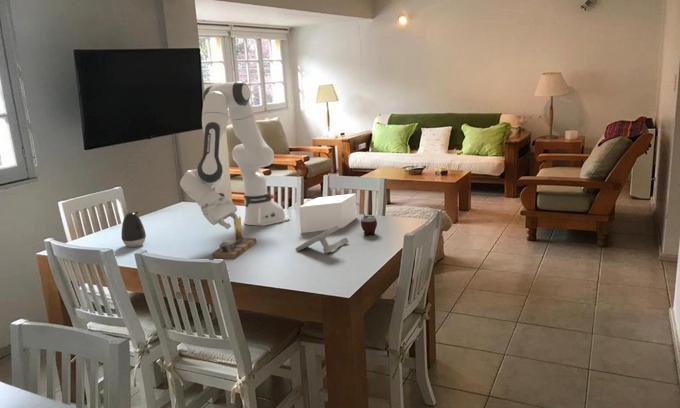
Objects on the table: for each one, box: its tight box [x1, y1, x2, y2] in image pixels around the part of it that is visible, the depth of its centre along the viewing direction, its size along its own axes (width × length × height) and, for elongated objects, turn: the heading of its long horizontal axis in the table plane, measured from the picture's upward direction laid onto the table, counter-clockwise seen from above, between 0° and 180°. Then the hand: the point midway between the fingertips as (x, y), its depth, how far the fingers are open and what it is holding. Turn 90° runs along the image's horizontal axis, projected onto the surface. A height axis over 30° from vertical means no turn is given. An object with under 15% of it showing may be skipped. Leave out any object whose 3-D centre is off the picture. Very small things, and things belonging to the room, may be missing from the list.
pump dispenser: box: [121, 211, 147, 248], centre depth 251 cm, size 10×10×15 cm
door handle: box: [295, 225, 349, 254], centre depth 233 cm, size 18×8×20 cm
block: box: [298, 193, 358, 234], centre depth 269 cm, size 18×35×12 cm, turn 131°
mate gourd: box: [355, 201, 378, 237], centre depth 249 cm, size 8×8×15 cm
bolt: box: [232, 216, 245, 246], centre depth 239 cm, size 10×3×10 cm, turn 166°
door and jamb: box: [211, 237, 257, 260], centre depth 238 cm, size 22×10×5 cm, turn 166°
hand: (234, 224), depth 241 cm, fingers open, 8 cm apart
